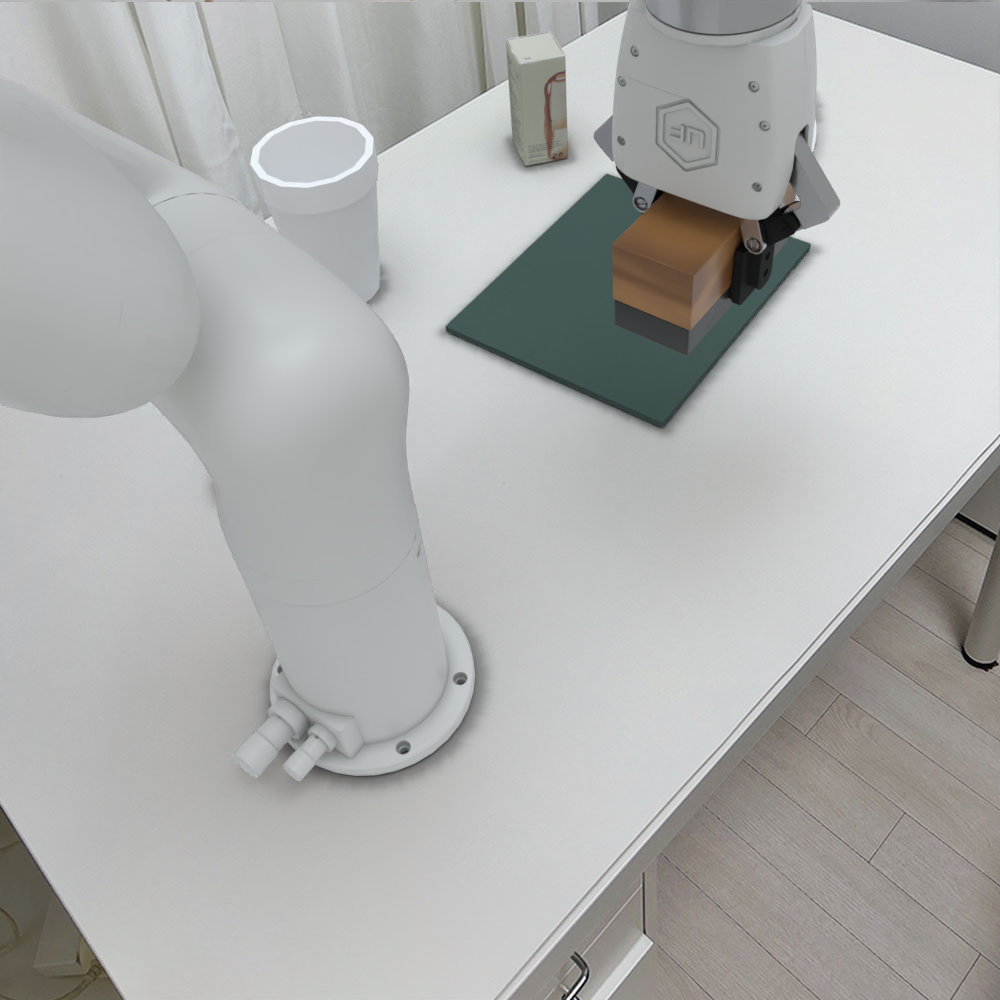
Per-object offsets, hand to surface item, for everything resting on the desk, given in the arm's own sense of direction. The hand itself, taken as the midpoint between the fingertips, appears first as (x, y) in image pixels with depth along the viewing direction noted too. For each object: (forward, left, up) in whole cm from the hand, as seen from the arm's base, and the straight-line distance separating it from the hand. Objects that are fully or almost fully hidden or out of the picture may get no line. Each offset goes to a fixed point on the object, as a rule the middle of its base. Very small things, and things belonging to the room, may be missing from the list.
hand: (704, 271), depth 67 cm
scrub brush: (0, 0, -1) cm, 1 cm away
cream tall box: (+26, +31, -16) cm, 43 cm away
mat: (+13, +13, -16) cm, 24 cm away
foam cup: (+1, +34, -16) cm, 37 cm away
